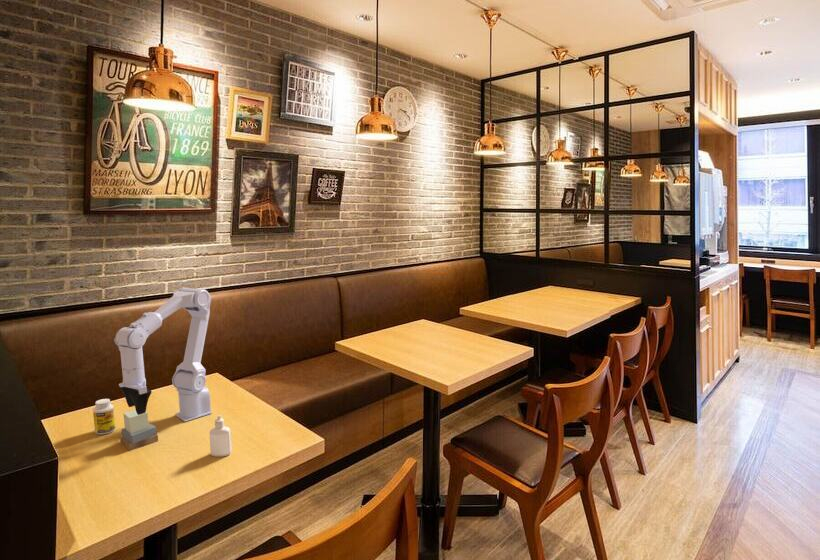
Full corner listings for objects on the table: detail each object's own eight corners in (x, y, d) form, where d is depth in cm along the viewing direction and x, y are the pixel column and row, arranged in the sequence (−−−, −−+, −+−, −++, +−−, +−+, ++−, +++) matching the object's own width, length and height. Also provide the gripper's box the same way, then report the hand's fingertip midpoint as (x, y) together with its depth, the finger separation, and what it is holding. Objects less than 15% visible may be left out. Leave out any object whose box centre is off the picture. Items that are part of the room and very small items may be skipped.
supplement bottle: (95, 437, 152) (92, 406, 150) (95, 430, 157) (91, 400, 155) (116, 432, 155) (113, 402, 153) (115, 425, 160) (112, 396, 158)
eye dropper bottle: (222, 459, 140) (220, 420, 138) (208, 455, 142) (205, 416, 140) (234, 452, 144) (232, 414, 142) (219, 448, 146) (217, 410, 144)
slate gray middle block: (145, 428, 154) (145, 420, 154) (156, 434, 150) (156, 427, 150) (122, 436, 149) (121, 429, 148) (132, 443, 144) (132, 435, 144)
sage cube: (142, 423, 152) (141, 408, 151) (148, 428, 149) (147, 412, 148) (124, 428, 148) (123, 413, 147) (131, 433, 145) (129, 418, 144)
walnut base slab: (148, 434, 155) (148, 426, 155) (158, 442, 150) (157, 435, 150) (120, 443, 150) (120, 435, 149) (130, 452, 144) (129, 444, 144)
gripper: (110, 364, 147) (114, 406, 150) (126, 376, 138) (130, 421, 140) (135, 359, 153) (139, 399, 155) (152, 370, 143) (156, 413, 145)
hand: (136, 409), depth 148 cm, fingers open, 7 cm apart
